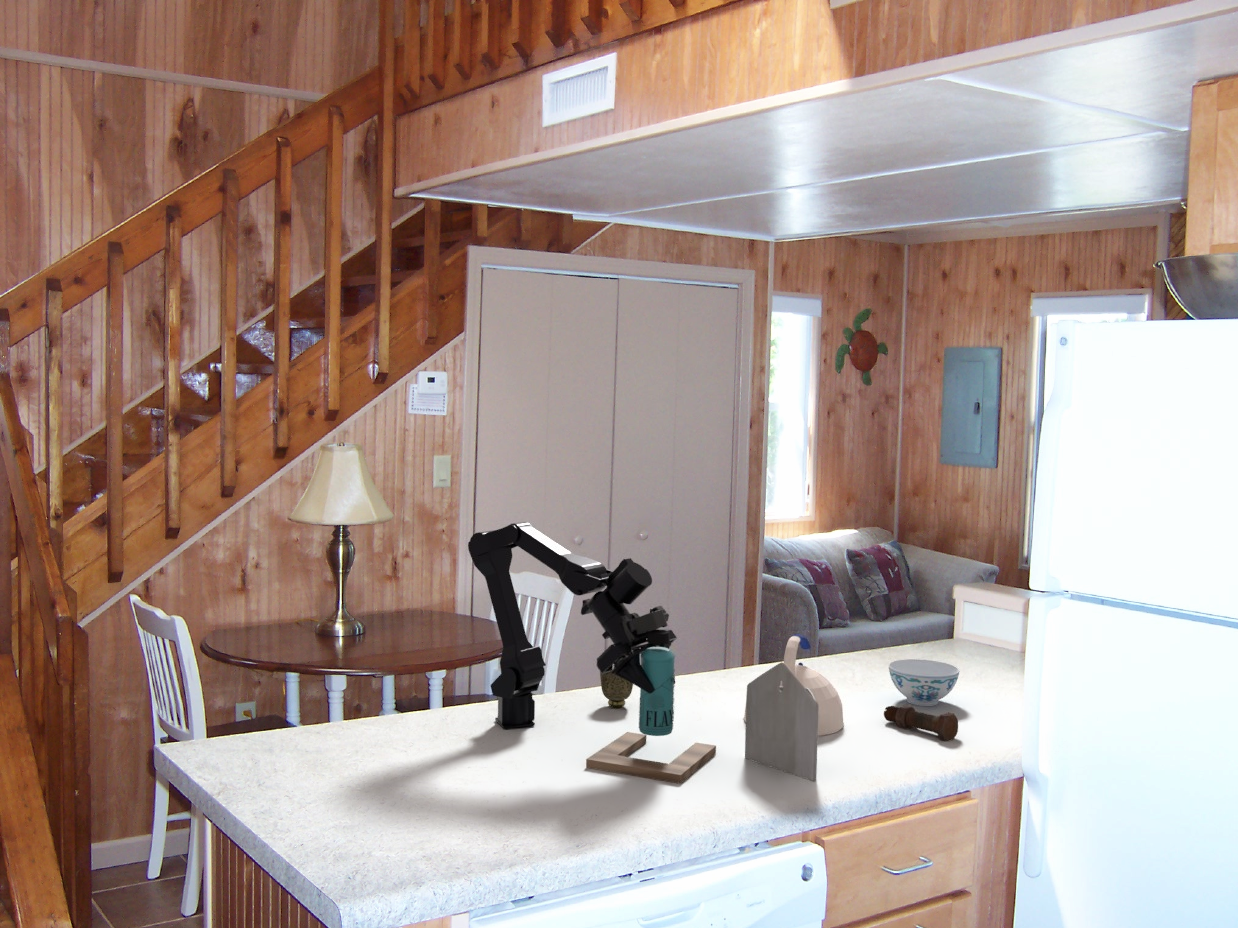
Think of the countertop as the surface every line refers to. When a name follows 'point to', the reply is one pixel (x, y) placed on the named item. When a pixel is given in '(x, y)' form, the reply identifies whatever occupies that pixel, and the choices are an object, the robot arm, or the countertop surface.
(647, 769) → the notched board
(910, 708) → the bolt
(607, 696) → the cup
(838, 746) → the countertop surface
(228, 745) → the countertop surface
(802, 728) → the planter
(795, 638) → the kettle
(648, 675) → the beverage bottle
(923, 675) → the chinaware
